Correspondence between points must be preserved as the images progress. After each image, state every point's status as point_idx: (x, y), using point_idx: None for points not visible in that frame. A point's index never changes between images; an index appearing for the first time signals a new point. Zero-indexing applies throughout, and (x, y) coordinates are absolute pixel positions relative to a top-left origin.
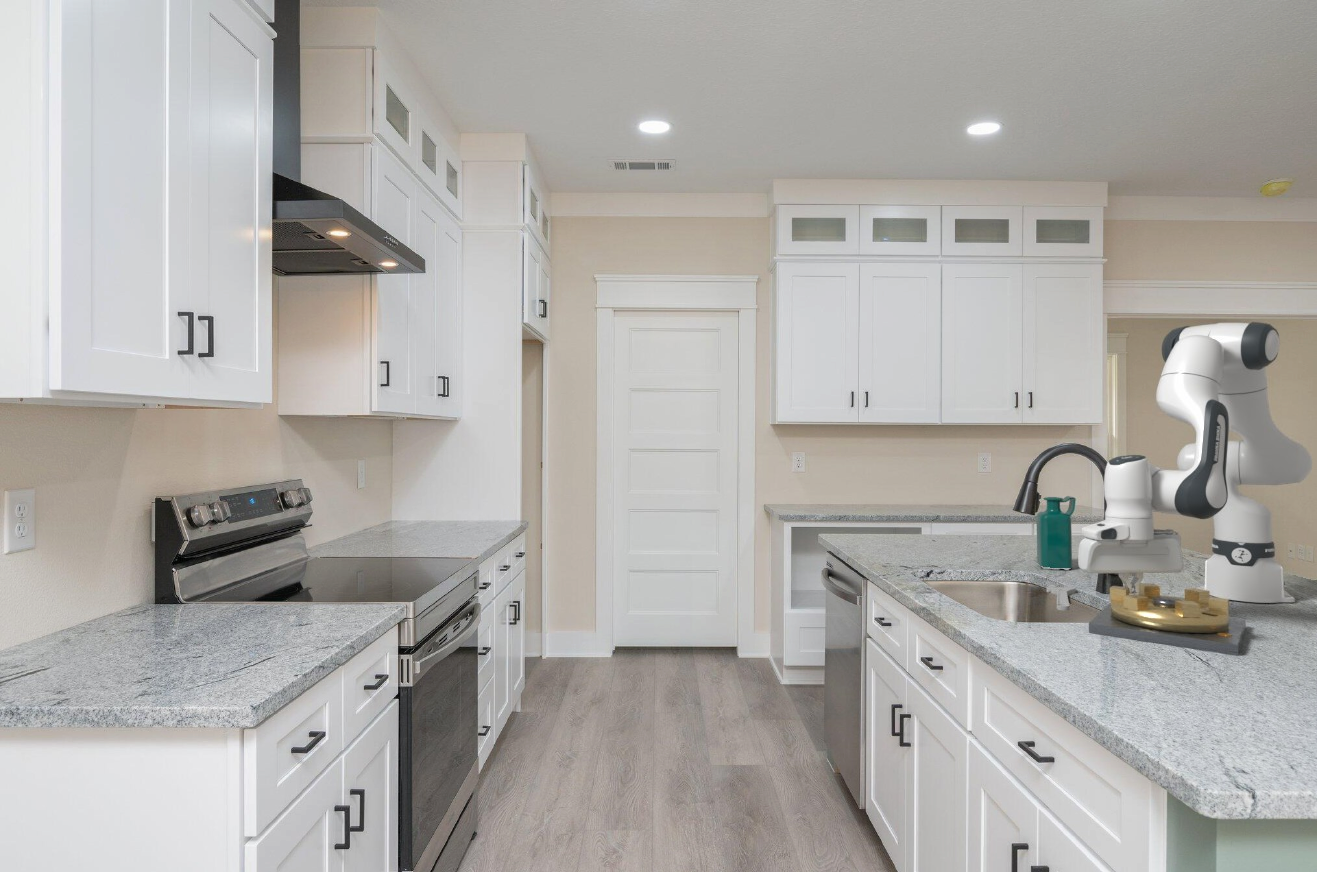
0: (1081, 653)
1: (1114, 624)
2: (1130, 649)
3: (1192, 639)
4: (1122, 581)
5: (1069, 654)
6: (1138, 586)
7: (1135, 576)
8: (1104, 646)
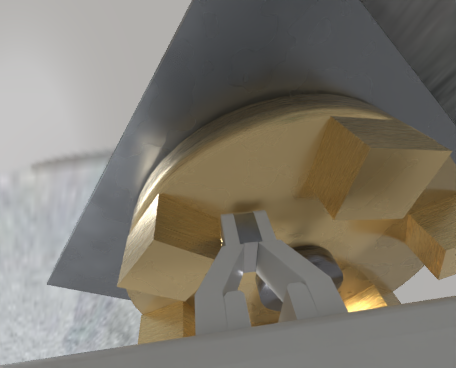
0: (33, 350)
1: (117, 280)
2: (124, 322)
3: None
4: (214, 262)
5: (12, 357)
6: (356, 139)
7: (279, 320)
8: (80, 320)
